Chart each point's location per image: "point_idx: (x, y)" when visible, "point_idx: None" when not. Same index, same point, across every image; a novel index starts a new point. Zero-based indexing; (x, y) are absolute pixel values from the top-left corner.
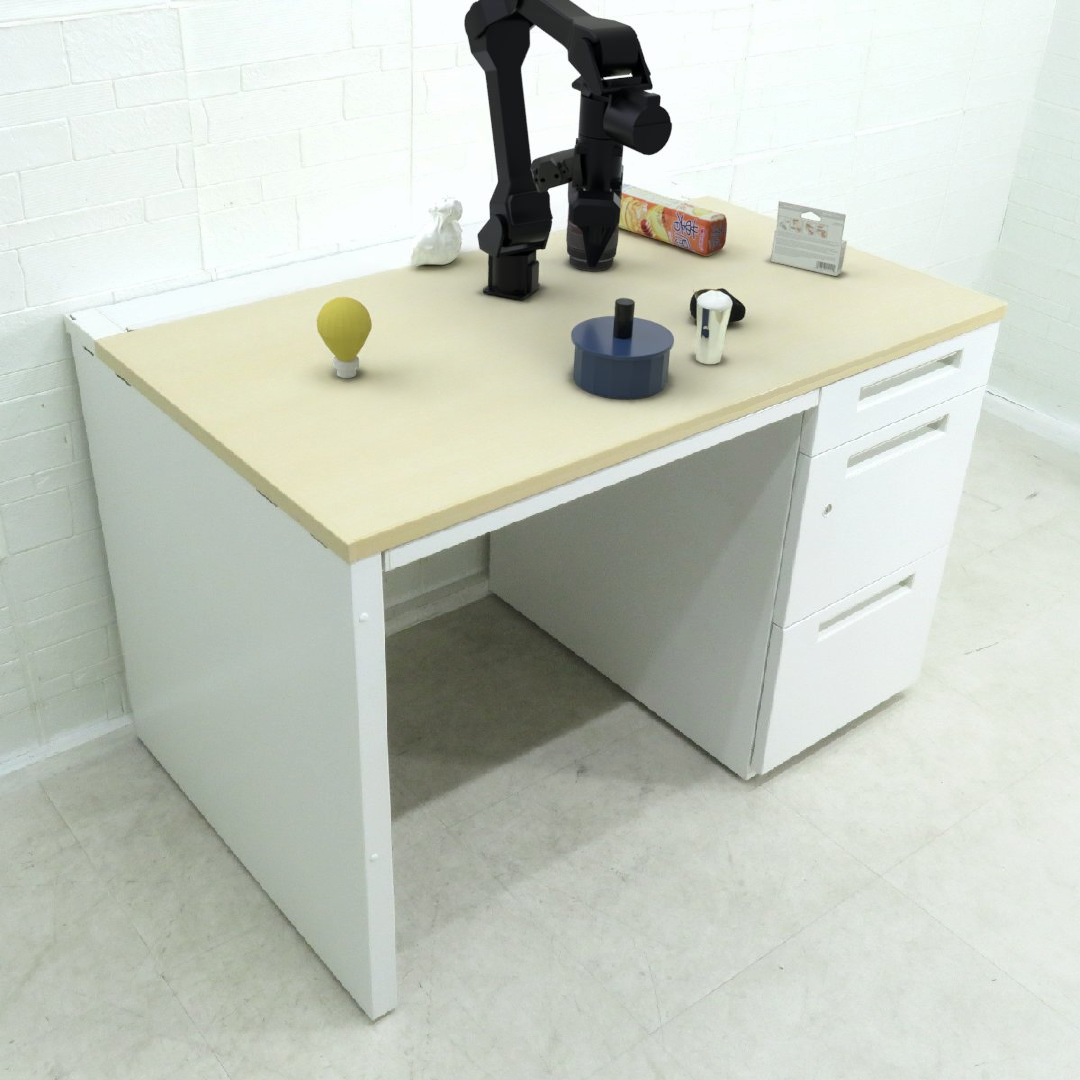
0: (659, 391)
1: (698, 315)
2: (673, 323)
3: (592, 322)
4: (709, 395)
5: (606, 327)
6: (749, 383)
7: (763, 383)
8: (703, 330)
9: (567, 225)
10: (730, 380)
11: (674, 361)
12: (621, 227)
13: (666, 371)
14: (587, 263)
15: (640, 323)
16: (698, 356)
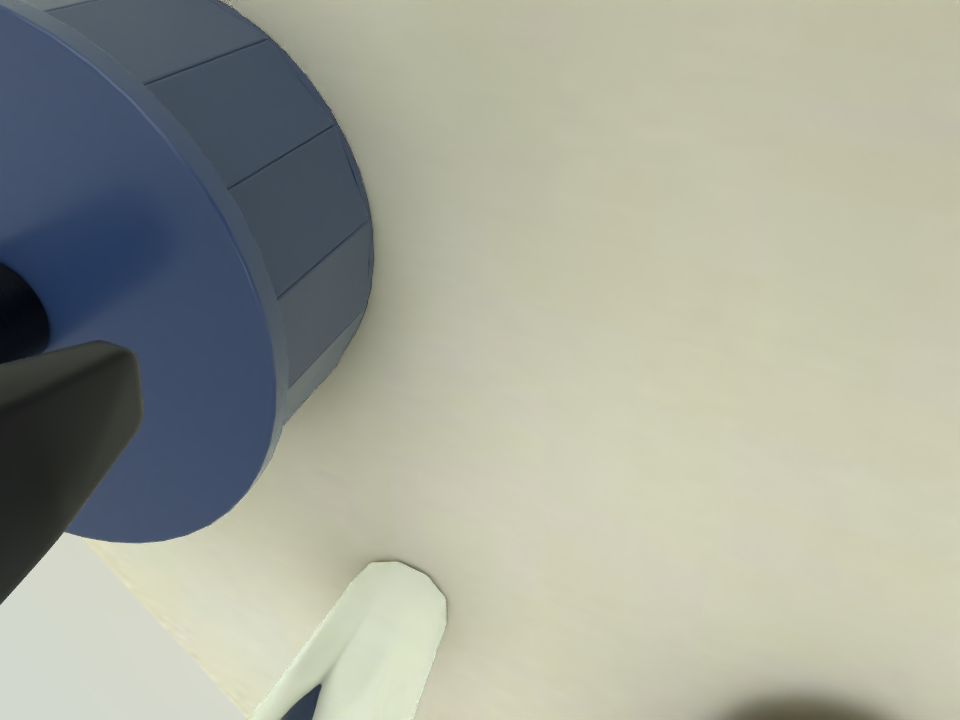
0: None
1: (278, 716)
2: (822, 631)
3: (136, 173)
4: None
5: (79, 246)
6: (227, 629)
7: (234, 662)
8: (287, 673)
9: None
10: (239, 590)
11: (379, 482)
12: None
13: None
14: (55, 354)
15: (183, 448)
16: (371, 575)
